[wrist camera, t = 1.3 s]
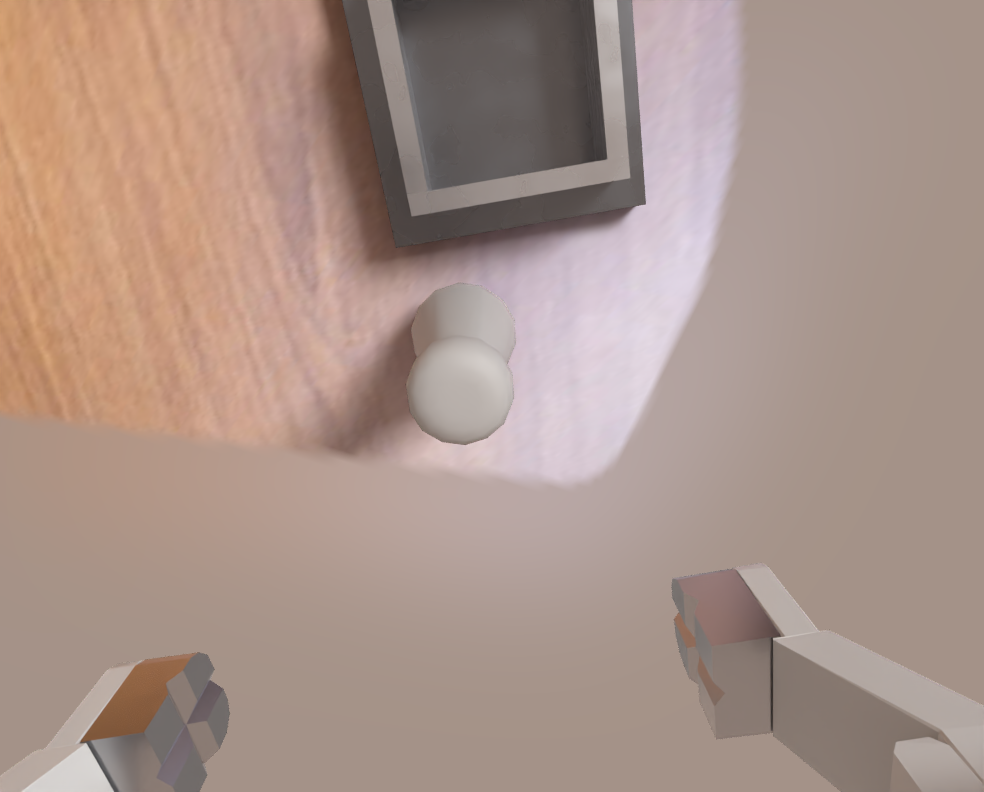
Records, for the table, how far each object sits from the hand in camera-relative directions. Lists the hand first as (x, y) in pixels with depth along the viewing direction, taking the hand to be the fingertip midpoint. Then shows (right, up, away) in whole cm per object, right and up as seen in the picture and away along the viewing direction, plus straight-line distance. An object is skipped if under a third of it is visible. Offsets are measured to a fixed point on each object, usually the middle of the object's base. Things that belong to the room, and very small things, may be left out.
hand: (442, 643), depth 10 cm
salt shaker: (-1, +8, +24) cm, 26 cm away
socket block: (+1, +20, +20) cm, 28 cm away
